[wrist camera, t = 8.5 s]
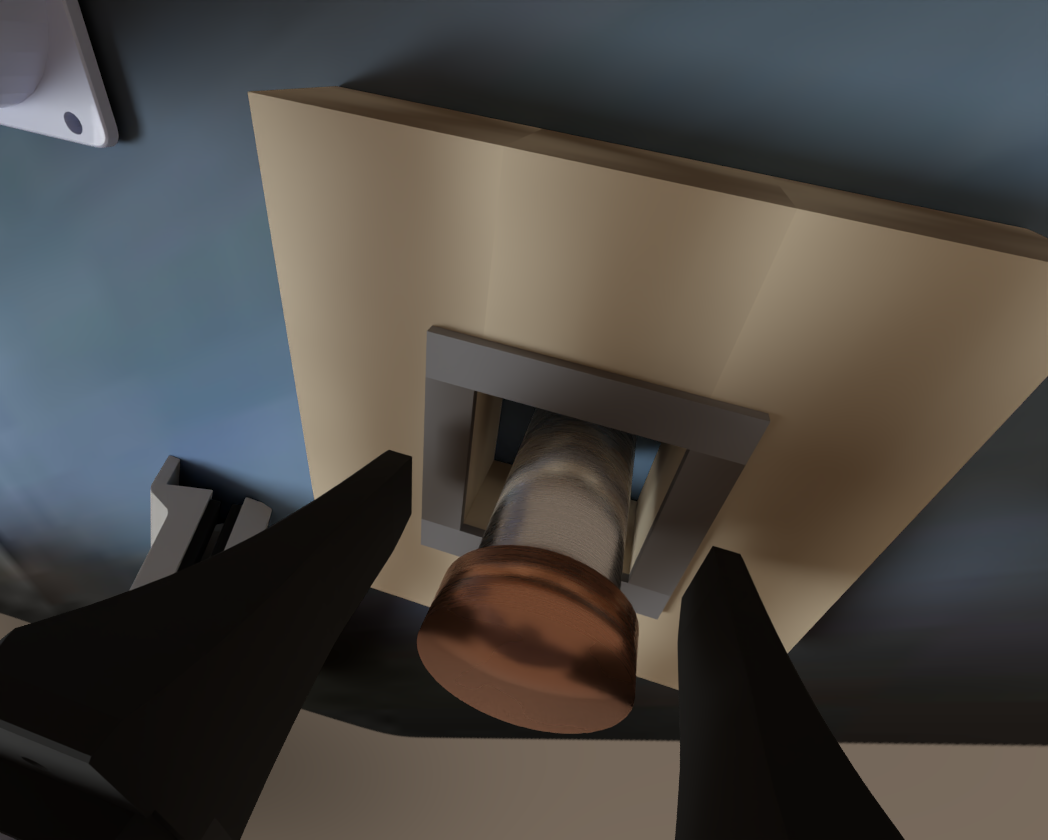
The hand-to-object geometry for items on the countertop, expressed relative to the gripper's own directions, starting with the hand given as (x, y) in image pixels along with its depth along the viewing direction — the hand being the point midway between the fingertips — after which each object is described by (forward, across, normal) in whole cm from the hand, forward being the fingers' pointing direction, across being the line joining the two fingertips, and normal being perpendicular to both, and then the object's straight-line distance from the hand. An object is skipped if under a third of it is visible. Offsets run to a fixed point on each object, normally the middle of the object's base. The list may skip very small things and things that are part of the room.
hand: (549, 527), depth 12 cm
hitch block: (+4, 0, 0) cm, 4 cm away
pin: (+4, 0, 0) cm, 4 cm away
